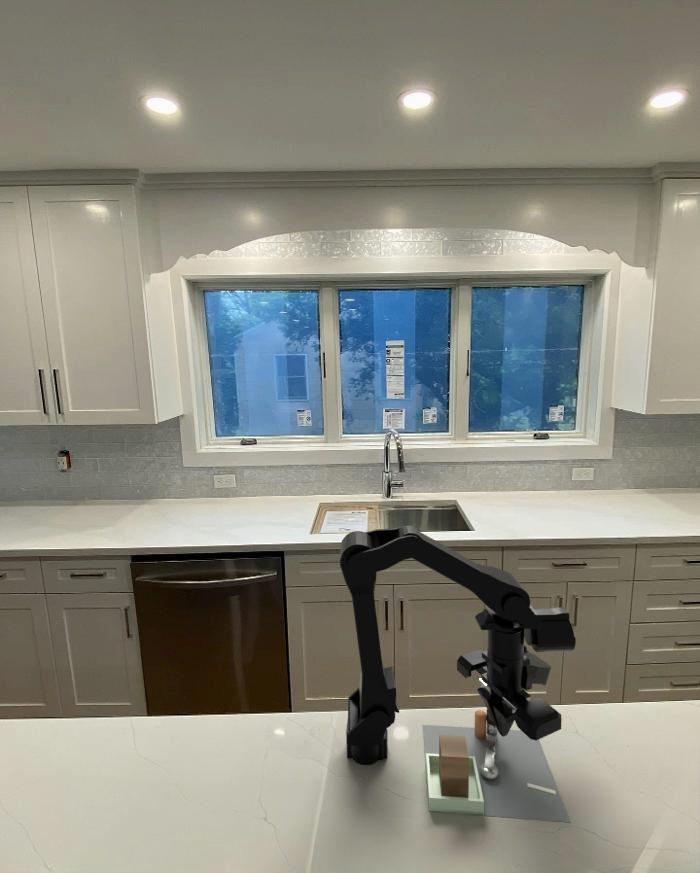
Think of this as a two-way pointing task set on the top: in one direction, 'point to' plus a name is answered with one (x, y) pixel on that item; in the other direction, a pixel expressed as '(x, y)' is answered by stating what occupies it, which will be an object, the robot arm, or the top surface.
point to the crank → (490, 751)
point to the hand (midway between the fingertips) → (503, 734)
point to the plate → (507, 772)
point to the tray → (453, 804)
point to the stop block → (453, 766)
